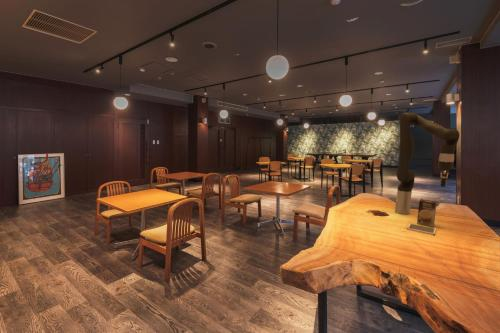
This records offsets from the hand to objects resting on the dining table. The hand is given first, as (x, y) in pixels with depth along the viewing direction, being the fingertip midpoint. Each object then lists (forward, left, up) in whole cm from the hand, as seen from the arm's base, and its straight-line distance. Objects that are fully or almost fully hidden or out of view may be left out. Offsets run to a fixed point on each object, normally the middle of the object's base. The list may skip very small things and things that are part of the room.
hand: (442, 185), depth 158 cm
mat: (-8, -17, -27) cm, 33 cm away
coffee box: (-7, -4, -27) cm, 28 cm away
